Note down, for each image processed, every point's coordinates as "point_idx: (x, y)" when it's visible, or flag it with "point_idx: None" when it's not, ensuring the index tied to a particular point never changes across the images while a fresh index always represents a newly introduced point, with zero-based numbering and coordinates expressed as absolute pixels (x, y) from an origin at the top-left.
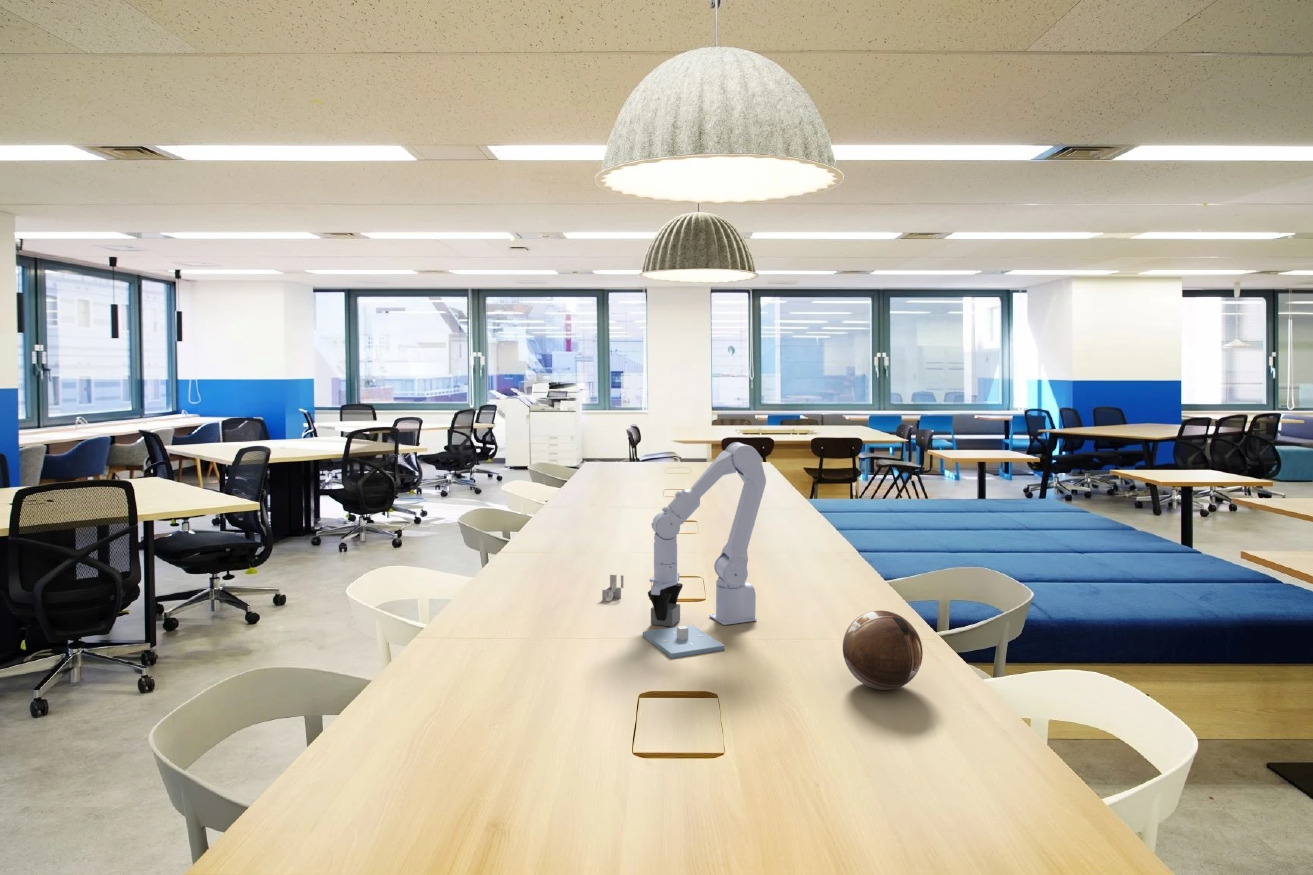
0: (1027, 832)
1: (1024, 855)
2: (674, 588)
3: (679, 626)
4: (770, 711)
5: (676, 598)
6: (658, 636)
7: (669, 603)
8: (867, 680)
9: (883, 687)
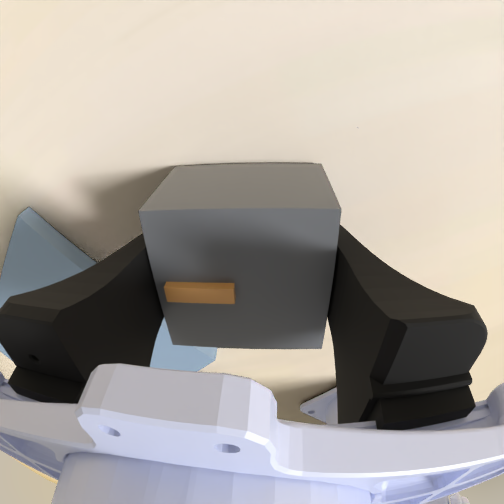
0: (32, 468)
1: (17, 460)
2: (345, 417)
3: None
4: None
5: (336, 357)
6: (26, 288)
7: (321, 293)
8: None
9: None
